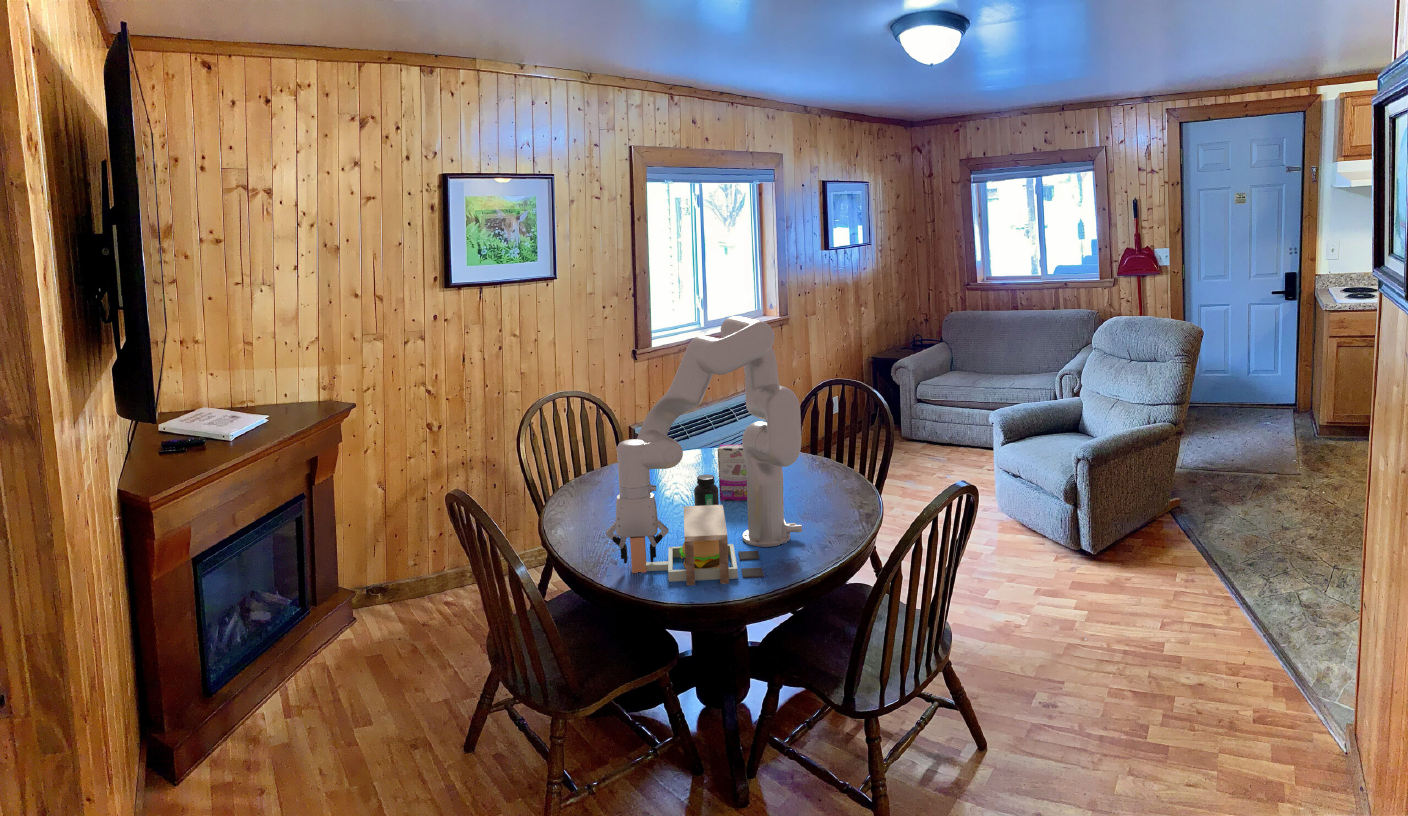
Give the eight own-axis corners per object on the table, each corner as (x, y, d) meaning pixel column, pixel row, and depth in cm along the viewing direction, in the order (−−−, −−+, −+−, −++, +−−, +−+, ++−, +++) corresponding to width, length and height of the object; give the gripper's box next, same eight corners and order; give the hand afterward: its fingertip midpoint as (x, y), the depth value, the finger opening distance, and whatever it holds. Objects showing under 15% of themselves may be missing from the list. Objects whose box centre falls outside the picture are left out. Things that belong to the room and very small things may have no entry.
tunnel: (724, 549, 242) (722, 504, 239) (729, 583, 221) (727, 534, 219) (685, 551, 242) (683, 506, 239) (686, 585, 221) (684, 536, 218)
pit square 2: (761, 568, 229) (761, 567, 229) (763, 577, 224) (763, 575, 224) (741, 569, 229) (741, 568, 229) (742, 578, 224) (742, 576, 224)
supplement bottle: (715, 522, 263) (713, 481, 260) (691, 520, 265) (690, 479, 262) (722, 514, 269) (720, 474, 266) (699, 512, 271) (698, 472, 268)
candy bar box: (758, 496, 283) (756, 443, 279) (756, 501, 278) (755, 448, 275) (721, 495, 285) (719, 443, 281) (719, 501, 280) (717, 448, 276)
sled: (733, 553, 240) (732, 519, 238) (737, 578, 224) (736, 542, 222) (633, 557, 239) (631, 524, 237) (630, 583, 223) (628, 547, 221)
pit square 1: (758, 552, 240) (758, 550, 240) (759, 559, 235) (759, 558, 235) (738, 552, 240) (738, 551, 240) (739, 560, 235) (739, 559, 235)
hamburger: (670, 566, 233) (669, 533, 231) (709, 554, 240) (708, 522, 238) (698, 581, 224) (696, 547, 222) (738, 568, 230) (737, 535, 228)
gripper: (670, 484, 231) (673, 553, 235) (600, 487, 230) (604, 556, 234) (670, 494, 223) (673, 565, 227) (598, 497, 223) (602, 568, 227)
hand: (638, 560), depth 231 cm, fingers open, 5 cm apart
